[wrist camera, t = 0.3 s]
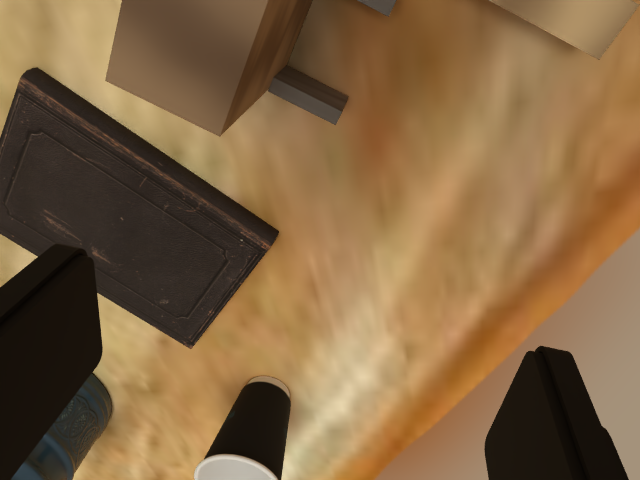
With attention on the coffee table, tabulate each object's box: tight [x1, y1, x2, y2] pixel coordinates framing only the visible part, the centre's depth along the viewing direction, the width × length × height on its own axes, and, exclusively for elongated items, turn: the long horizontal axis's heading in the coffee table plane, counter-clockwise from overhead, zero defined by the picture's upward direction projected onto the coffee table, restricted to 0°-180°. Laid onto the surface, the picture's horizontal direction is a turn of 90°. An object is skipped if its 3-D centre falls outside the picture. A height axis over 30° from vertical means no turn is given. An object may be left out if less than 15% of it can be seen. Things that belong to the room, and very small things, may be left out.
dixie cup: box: [194, 376, 291, 480], centre depth 49 cm, size 8×8×11 cm
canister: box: [11, 374, 112, 480], centre depth 51 cm, size 13×13×18 cm
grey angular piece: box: [105, 0, 396, 136], centre depth 29 cm, size 8×11×14 cm
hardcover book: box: [0, 68, 279, 349], centre depth 45 cm, size 16×23×2 cm
